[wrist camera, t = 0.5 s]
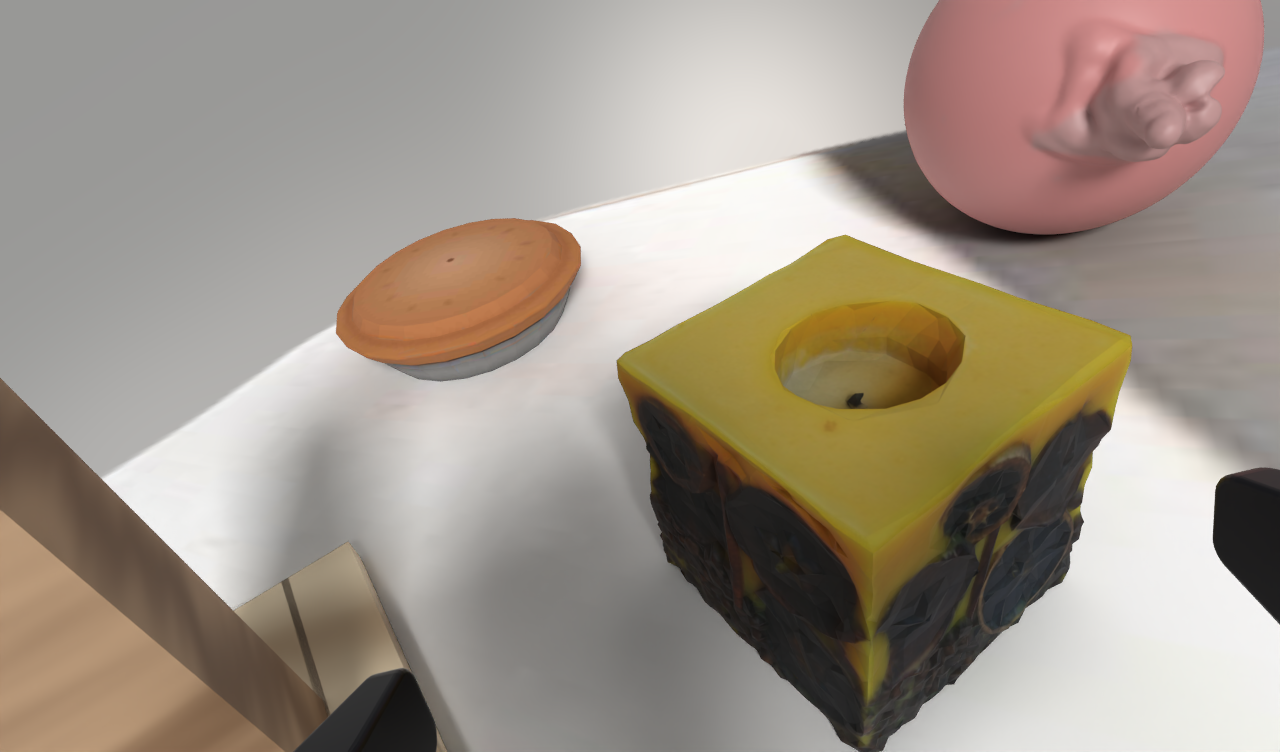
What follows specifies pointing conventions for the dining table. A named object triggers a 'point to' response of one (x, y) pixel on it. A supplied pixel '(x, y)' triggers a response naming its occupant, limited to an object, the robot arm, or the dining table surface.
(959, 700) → the dining table surface
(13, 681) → the tall wooden pillar
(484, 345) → the pie
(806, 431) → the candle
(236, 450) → the dining table surface
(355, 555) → the board
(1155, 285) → the dining table surface
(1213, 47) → the balloon
